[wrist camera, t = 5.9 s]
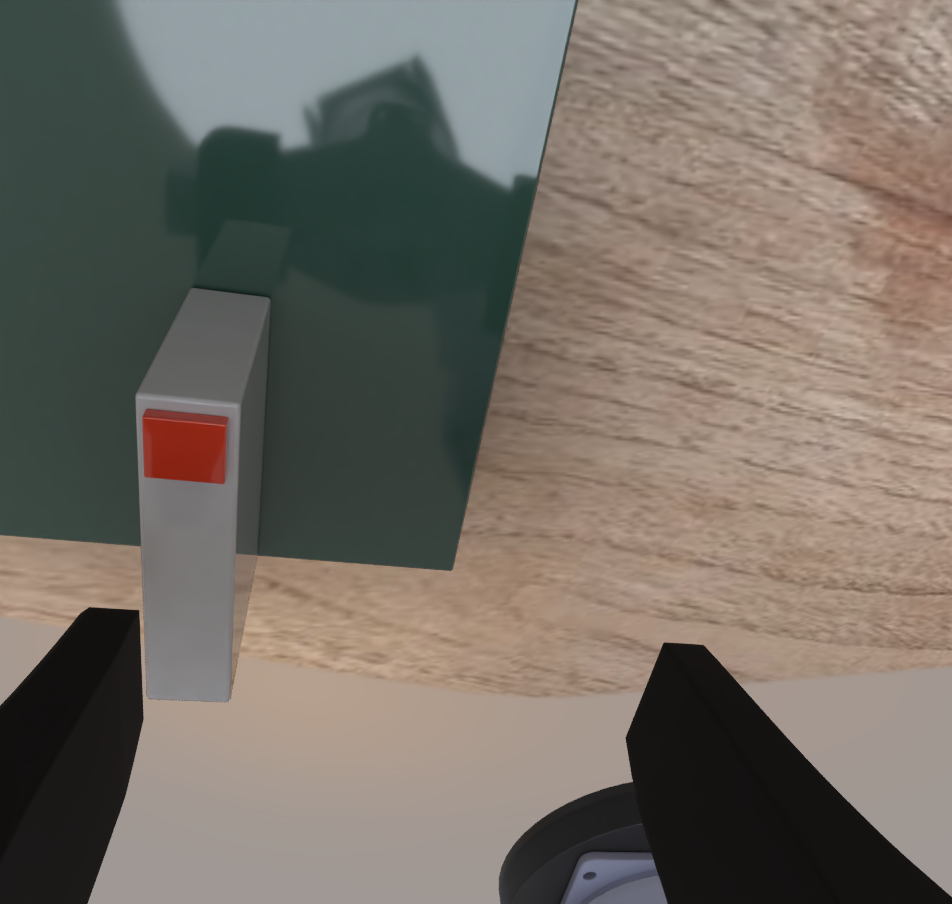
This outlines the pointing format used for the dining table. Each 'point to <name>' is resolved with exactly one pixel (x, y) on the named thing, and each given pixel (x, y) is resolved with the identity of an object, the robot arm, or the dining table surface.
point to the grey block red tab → (201, 491)
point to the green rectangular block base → (268, 246)
